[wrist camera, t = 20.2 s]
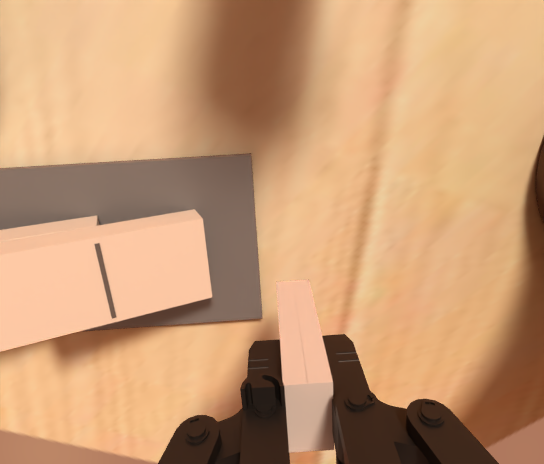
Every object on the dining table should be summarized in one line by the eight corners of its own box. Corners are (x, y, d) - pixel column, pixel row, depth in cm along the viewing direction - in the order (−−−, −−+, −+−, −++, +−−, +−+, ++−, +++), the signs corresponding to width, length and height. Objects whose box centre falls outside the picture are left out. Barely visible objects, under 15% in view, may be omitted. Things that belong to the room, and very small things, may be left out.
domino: (203, 219, 21) (-37, 262, 17) (212, 297, 23) (-3, 352, 19) (194, 208, 23) (-25, 245, 19) (203, 282, 25) (6, 330, 21)
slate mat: (251, 153, 23) (251, 155, 22) (262, 313, 26) (262, 318, 26) (-244, 182, 22) (-257, 185, 21) (-156, 343, 26) (-165, 349, 25)
